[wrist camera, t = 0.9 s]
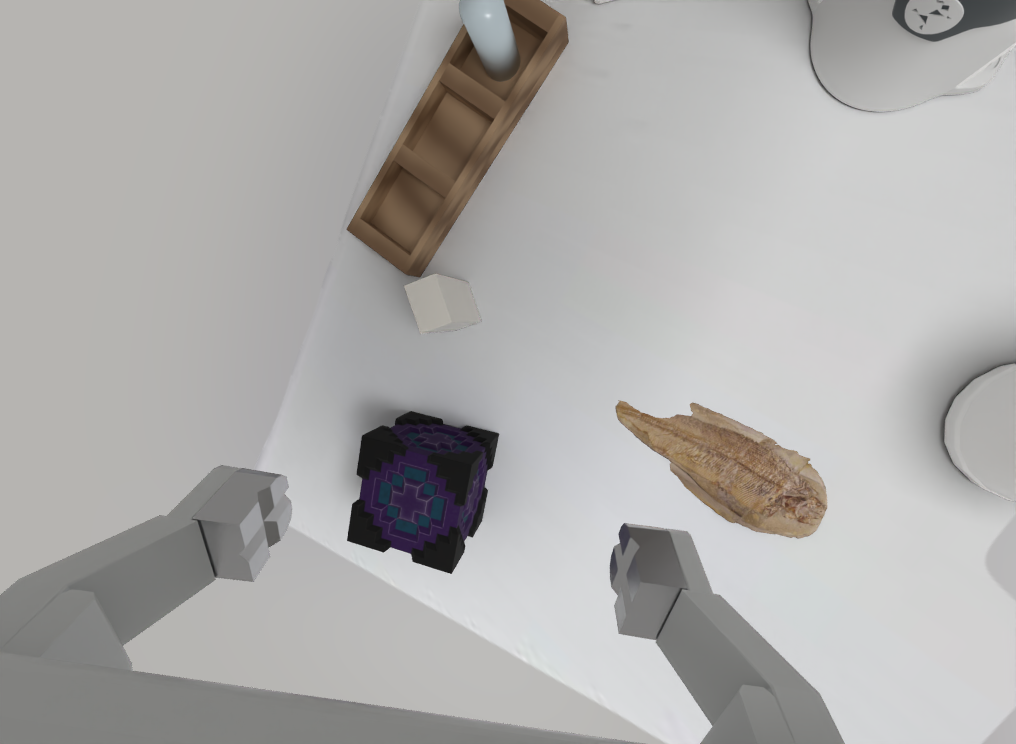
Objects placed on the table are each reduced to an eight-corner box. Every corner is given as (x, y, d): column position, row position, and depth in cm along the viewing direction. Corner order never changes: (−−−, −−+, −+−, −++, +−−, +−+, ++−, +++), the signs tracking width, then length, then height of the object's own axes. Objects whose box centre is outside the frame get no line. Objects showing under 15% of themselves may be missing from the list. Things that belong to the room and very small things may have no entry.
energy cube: (482, 520, 56) (451, 574, 45) (397, 496, 59) (347, 540, 47) (499, 433, 55) (472, 465, 43) (410, 411, 57) (362, 435, 45)
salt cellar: (498, 34, 47) (475, -30, 38) (527, 54, 47) (511, -6, 38) (477, 69, 48) (450, 14, 39) (506, 89, 48) (485, 38, 39)
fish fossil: (593, 437, 52) (593, 439, 51) (634, 362, 51) (635, 362, 50) (799, 550, 49) (804, 555, 48) (850, 473, 47) (856, 476, 46)
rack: (502, -2, 48) (494, -30, 44) (568, 41, 47) (565, 17, 43) (364, 235, 55) (346, 229, 51) (419, 277, 54) (405, 274, 50)
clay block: (468, 282, 53) (435, 273, 42) (481, 321, 53) (452, 322, 42) (442, 292, 54) (403, 285, 43) (456, 330, 54) (420, 334, 43)
